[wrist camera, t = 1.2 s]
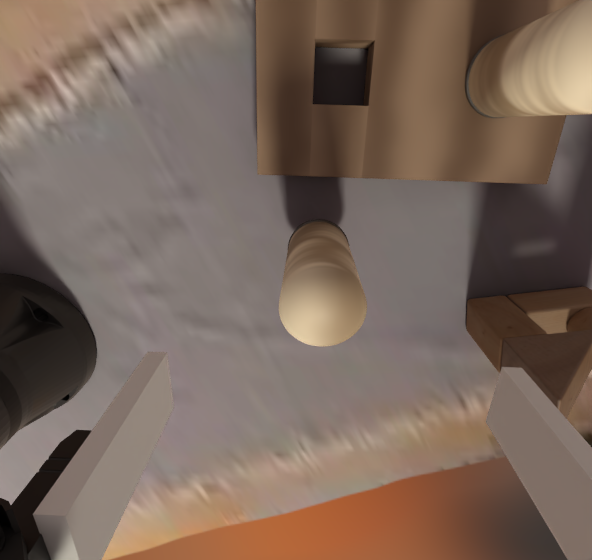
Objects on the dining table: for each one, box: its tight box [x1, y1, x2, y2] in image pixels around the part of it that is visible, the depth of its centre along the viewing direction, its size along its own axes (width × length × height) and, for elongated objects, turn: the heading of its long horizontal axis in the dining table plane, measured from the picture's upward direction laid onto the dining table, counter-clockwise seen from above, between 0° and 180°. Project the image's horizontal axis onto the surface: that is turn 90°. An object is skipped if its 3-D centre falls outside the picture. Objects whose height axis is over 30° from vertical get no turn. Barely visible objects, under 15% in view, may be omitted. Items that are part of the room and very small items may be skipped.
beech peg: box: [279, 220, 367, 346], centre depth 27 cm, size 5×5×14 cm
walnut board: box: [256, 0, 592, 184], centre depth 22 cm, size 22×14×14 cm, turn 88°
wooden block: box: [466, 287, 592, 419], centre depth 27 cm, size 4×11×18 cm, turn 98°
